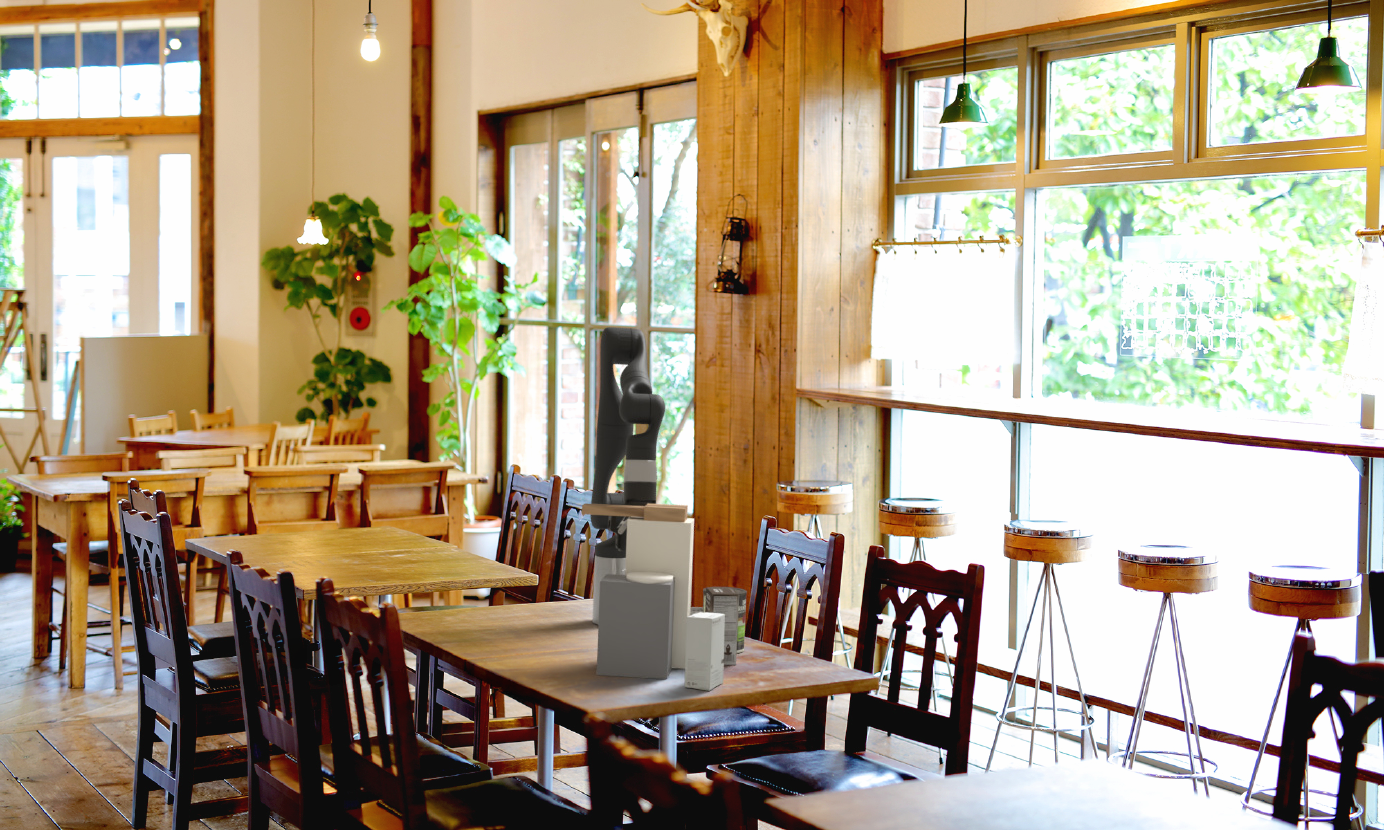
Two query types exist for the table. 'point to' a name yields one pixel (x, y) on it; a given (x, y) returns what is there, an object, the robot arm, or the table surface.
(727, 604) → the coffee box
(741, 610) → the coffee can
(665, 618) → the gray box
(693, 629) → the skincare box
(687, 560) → the tall plinth
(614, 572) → the robot arm
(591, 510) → the oak block
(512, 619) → the table surface
